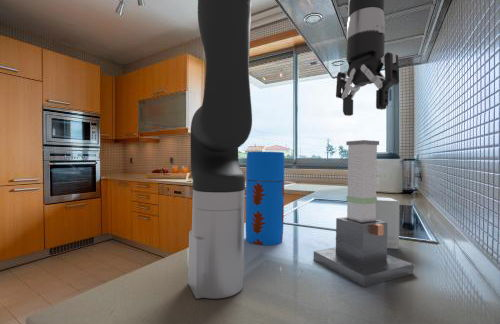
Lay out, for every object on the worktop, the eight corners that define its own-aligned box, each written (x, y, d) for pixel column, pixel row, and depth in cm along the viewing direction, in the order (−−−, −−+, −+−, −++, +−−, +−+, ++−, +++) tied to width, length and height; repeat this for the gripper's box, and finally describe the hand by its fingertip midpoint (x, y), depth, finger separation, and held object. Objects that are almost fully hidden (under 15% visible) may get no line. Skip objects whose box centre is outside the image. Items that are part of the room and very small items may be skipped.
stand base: (364, 287, 46) (365, 231, 46) (313, 259, 59) (314, 216, 59) (413, 273, 52) (413, 224, 52) (357, 251, 65) (358, 211, 65)
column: (362, 232, 53) (363, 140, 53) (345, 226, 57) (346, 141, 57) (377, 229, 55) (379, 141, 55) (359, 224, 59) (361, 142, 59)
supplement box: (399, 249, 67) (400, 201, 67) (369, 247, 69) (370, 199, 69) (390, 241, 74) (391, 197, 74) (363, 239, 76) (363, 196, 76)
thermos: (239, 242, 71) (240, 151, 71) (252, 232, 81) (254, 153, 81) (277, 247, 67) (279, 151, 67) (286, 236, 77) (288, 153, 77)
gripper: (328, 46, 60) (327, 115, 60) (382, 16, 48) (381, 104, 48) (351, 53, 64) (350, 118, 64) (408, 26, 51) (407, 108, 51)
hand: (363, 112), depth 56 cm, fingers open, 8 cm apart
